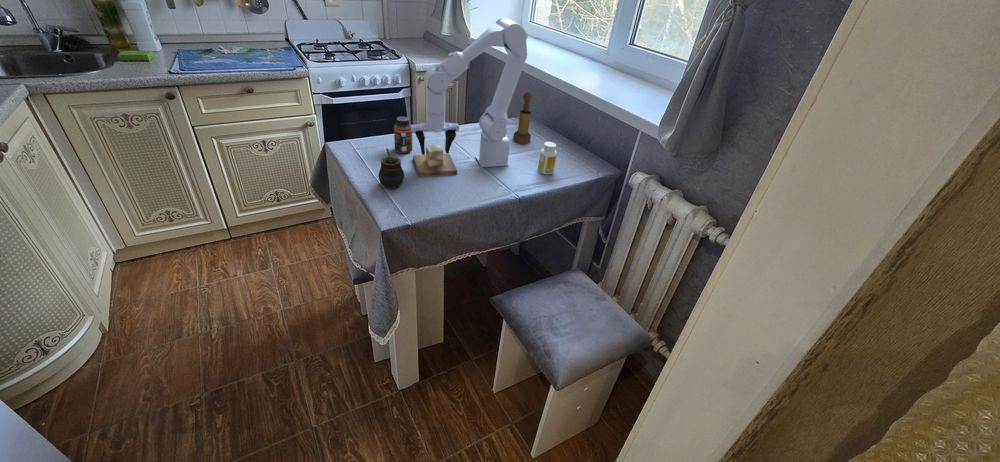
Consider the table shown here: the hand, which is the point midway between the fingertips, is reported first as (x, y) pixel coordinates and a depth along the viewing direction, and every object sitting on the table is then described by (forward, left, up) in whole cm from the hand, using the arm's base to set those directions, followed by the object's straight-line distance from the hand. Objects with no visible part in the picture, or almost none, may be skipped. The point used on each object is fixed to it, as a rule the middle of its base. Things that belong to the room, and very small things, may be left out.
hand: (435, 152), depth 137 cm
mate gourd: (+15, +10, -5) cm, 19 cm away
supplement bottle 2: (-36, +8, -5) cm, 37 cm away
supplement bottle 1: (+8, -13, -5) cm, 16 cm away
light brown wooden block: (0, 0, -6) cm, 6 cm away
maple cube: (0, 0, -3) cm, 4 cm away
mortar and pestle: (-37, -17, -5) cm, 41 cm away
